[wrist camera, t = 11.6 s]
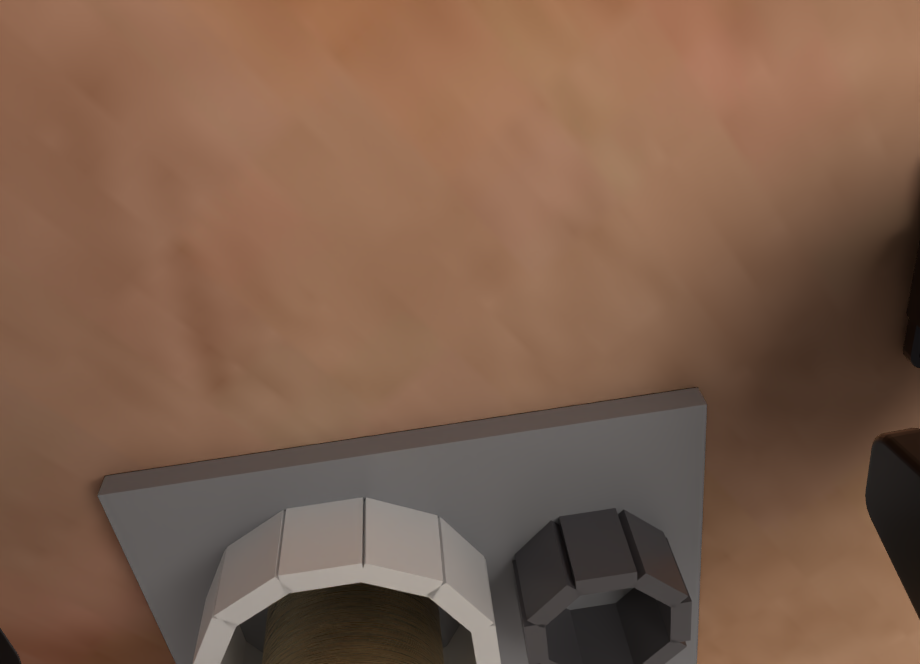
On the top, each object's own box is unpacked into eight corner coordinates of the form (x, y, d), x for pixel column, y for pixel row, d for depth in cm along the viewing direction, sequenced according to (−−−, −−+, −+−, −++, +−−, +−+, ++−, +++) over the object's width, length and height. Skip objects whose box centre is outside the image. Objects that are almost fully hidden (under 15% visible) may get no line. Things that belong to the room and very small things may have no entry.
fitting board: (697, 387, 25) (739, 463, 22) (689, 648, 31) (720, 734, 28) (104, 476, 25) (70, 564, 22) (216, 720, 31) (200, 813, 28)
